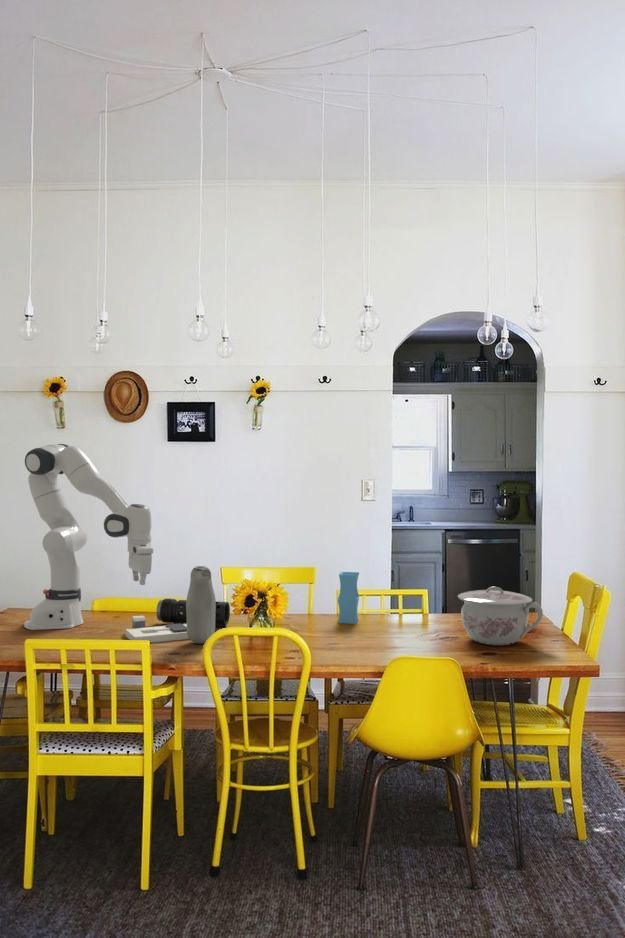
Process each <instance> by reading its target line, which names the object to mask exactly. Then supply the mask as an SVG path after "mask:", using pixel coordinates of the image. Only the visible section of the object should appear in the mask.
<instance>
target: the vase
mask: <svg viewBox="0 0 625 938" xmlns="http://www.w3.org/2000/svg"><path fill="white" fill-rule="evenodd" d="M359 575H360V572H357V571H340V573H338V578H339V583H340V584H339V585H340V586H339V588H340V589H339V594H338V597H337V603H338V609H339V613H338V619H337V620H338V621H337V624H350V625H351V624H353V625H354V624H356V625H357V624H358V622H359V615H358V606H359V601H360V595H359V592H358V591H359V590H358V580H359Z"/></svg>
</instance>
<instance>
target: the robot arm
mask: <svg viewBox="0 0 625 938" xmlns="http://www.w3.org/2000/svg"><path fill="white" fill-rule="evenodd" d="M24 466H25V469H26V470H27V471H28V472H29V475H28V479H27V480H28V486H29V490H30V494H31V496H32V499H33V501H34V504H35V507H36V509H37V512H38V514H39V516H40V518H41V520H42V521H43V522H45V524H46V525H47V526H48V527H49V528H50V530H49V531H48V532H47V533H46V534H45V535H44V536H43V539H42V543H41V545H42V548H43V550H44V551H45V552H46V555H47V558H48V562H49V568H50V588H48V589H47V588H44V589H43V591H42V593H43V595H44V597H45V599H43V600H42V601H41V602H40V603H38V604H37V605H36V606H34V607H33V608H32V609H31V612H30V616H29V620H26V621H24V624H23V627H24V628H26V629H27V630H32V631H33V630H34V631H35V630H36V631H37V630H38V631H39V630H58V629H60V630H61V629H62V630H63V629H72V628H74V627H76V626H77V627H78V626H80V625H83V624H84V620H83V615H82V610H81V609H82V608H81V600H82V588H81V587H80V586H81V583H80V582H81V581H80V579H81V575H80V574H81V573H80V572H81V569H80V566H79V565H78V563H77V559H76V552H78V551H79V550H81V549H82V548H83V547H84V546H85V545H86V543H87V541H88V534H87V531H86V530H85V529H84V528H83V527H82V526H81V525H80V524H79V522H78V521H77V519H76V518H75V517H74V515H73V514H72V511H70V509H69V506H68V504H67V502H66V499H65V497H64V494H63V492H62V490H61V487H60V484H59V482H58V476H59V475H65V476H66V478H67V480H68V481H69V483H70V484H71V486H73V487H74V488H75V489H76V490H77V491H78V492H80V493H81V494H84V495H89V496H91V497H95V498H97V499H99V500H101V501H102V502H103V503H104V504H105V505H106V506H107V508H108V509H109V510H110V511H111V512H112V513H110V514H108V515H107V516H106V517H105V519H104V521H103V529H104V531H105V533H106V535H107V536H109V537H111V538H116V539H117V538H123V537H126V538H127V552H128V568H130V569H132V571H131V572H132V576H133V577H132V578H133V579H132V580H133V581H134V582H139V585H141V586H144V585H146V579H147V575H150V574H151V572H152V562H153V561H152V559H153V555H152V554H154V547H153V545H152V536H151V535H152V534H151V531H152V515H151V514H152V513H151V509H150V508H149V506H147V505H144V504H138V503H132V504H130V505H129V504H127V503H126V502H125V500H124V499H123V498H122V497H121V495H120V494H119V493H118V492H117V490H115V488H114V487H113V486H112V485H111V484H110V483H109V482H108V481H107V480H106V478H104V476H103V475H102V474H101V473H100V471H99V470H98V469H97V467H96V466H95V464H94V462H92V461H91V459H90V457H88V455H86V453H85V452H83V450H81V448H79V447H78V446H75V445H68V444H64V443H58V444H47V445H45V446H41V447H35V448H33V449H31V450H29V451H28V452H27V453H26V455H25V457H24Z"/></svg>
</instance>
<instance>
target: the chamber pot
mask: <svg viewBox="0 0 625 938" xmlns="http://www.w3.org/2000/svg"><path fill="white" fill-rule="evenodd" d="M457 598H458V599H459V600H461V601H463V602H464V604H463V606H462V607H461V609H460V610H461V611H460V616H461V621H462V622H461V623H462V626H463V629H464V630H465V631H466V633H467V635H468V636H469V638H470V639H471V640H472V641H474V642H476V643H479V644H482V645H486V646H494V647H496V646H498V647H503V646H509V645H513V644H515V643H517V642H518V641H520V639H521V638H523V637H524V636H525V635H526V633H528V632H529V631H530V630H532V629H534V628H535V627H537V626H538V625H540V623H541V622H542V621H543V616H544V613H543V612H544V611H543V609H542V606H541V605H540V604H539V603H538V602H537V601H534V600H533V598H532V597H531V596H528V595H525V594H522V593H518V592H515V591H508V590H503V589H502V588H501V587H498V586H489V587H487V589H478V590H469V591H465V592H461V593H459V594H458V595H457ZM532 608H533V609H536V610H537V618H536V620H535V621H534V622H533V624H530V625H528V622H529V614H530V611H529V610H530V609H532ZM477 641H478V642H477ZM481 642H482V643H481ZM514 642H515V643H514ZM487 643H489V644H487ZM508 643H512V644H508Z"/></svg>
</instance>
